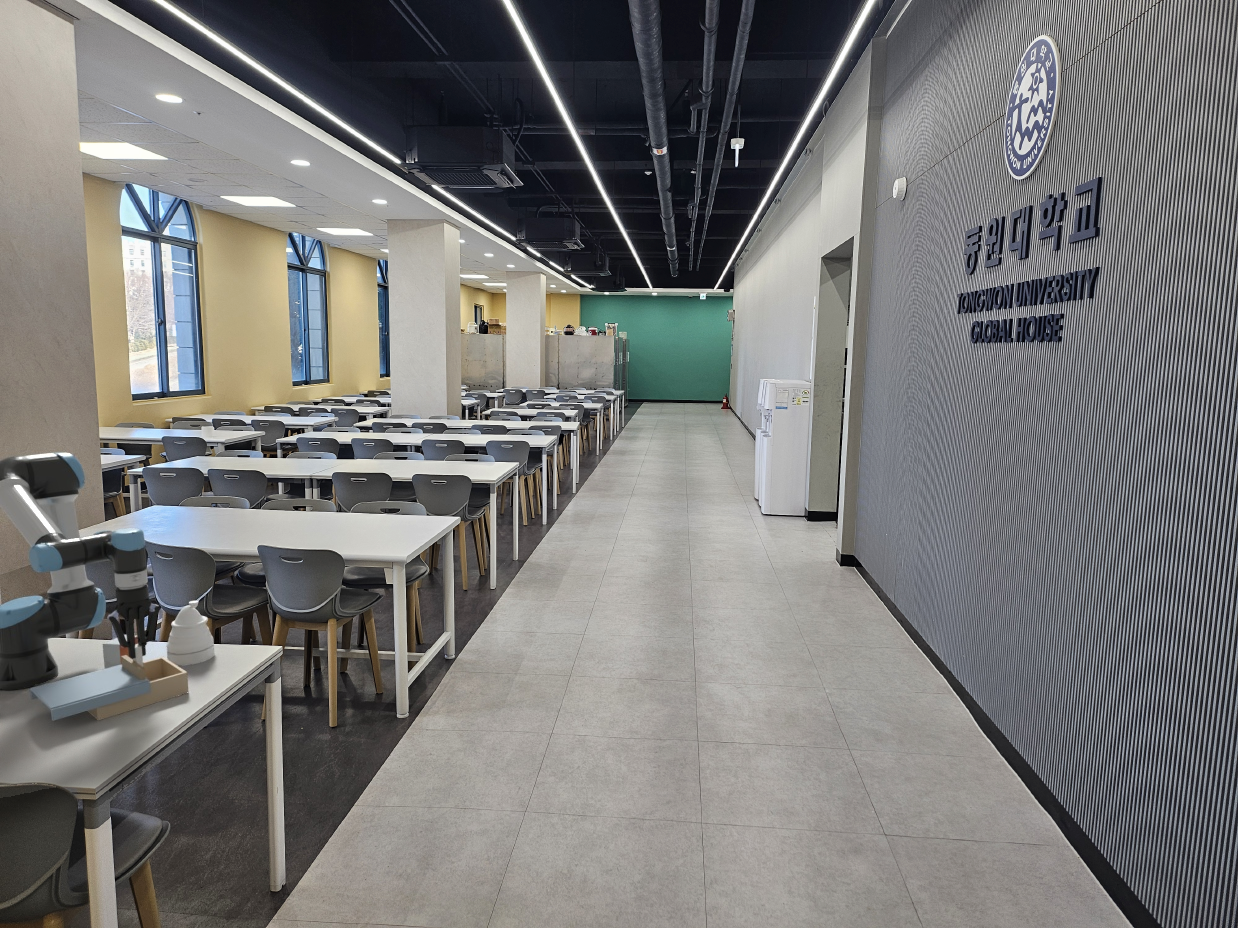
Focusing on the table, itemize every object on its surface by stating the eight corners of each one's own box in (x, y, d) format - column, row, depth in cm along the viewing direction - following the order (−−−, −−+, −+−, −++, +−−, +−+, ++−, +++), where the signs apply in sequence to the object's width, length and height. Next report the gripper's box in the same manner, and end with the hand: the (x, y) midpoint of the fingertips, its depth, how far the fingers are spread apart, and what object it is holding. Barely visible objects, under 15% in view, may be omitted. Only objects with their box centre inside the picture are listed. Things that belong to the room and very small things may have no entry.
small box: (121, 679, 225) (118, 644, 224) (104, 678, 226) (101, 643, 225) (142, 668, 233) (139, 634, 232) (126, 667, 234) (123, 633, 232)
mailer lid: (31, 698, 204) (28, 676, 203) (125, 673, 220) (123, 652, 219) (52, 720, 191) (50, 697, 191) (150, 691, 208) (149, 670, 207)
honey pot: (222, 649, 248) (219, 595, 246) (200, 665, 235) (196, 608, 233) (182, 649, 248) (178, 595, 246) (158, 665, 236) (154, 608, 233)
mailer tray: (76, 701, 211) (74, 680, 210) (164, 676, 228) (163, 656, 227) (97, 720, 200) (95, 698, 199) (188, 692, 217) (187, 672, 216)
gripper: (109, 593, 204) (116, 679, 207) (163, 583, 214) (169, 664, 217) (99, 588, 208) (106, 671, 212) (152, 577, 218) (158, 657, 222)
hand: (138, 668), depth 214 cm, fingers closed
